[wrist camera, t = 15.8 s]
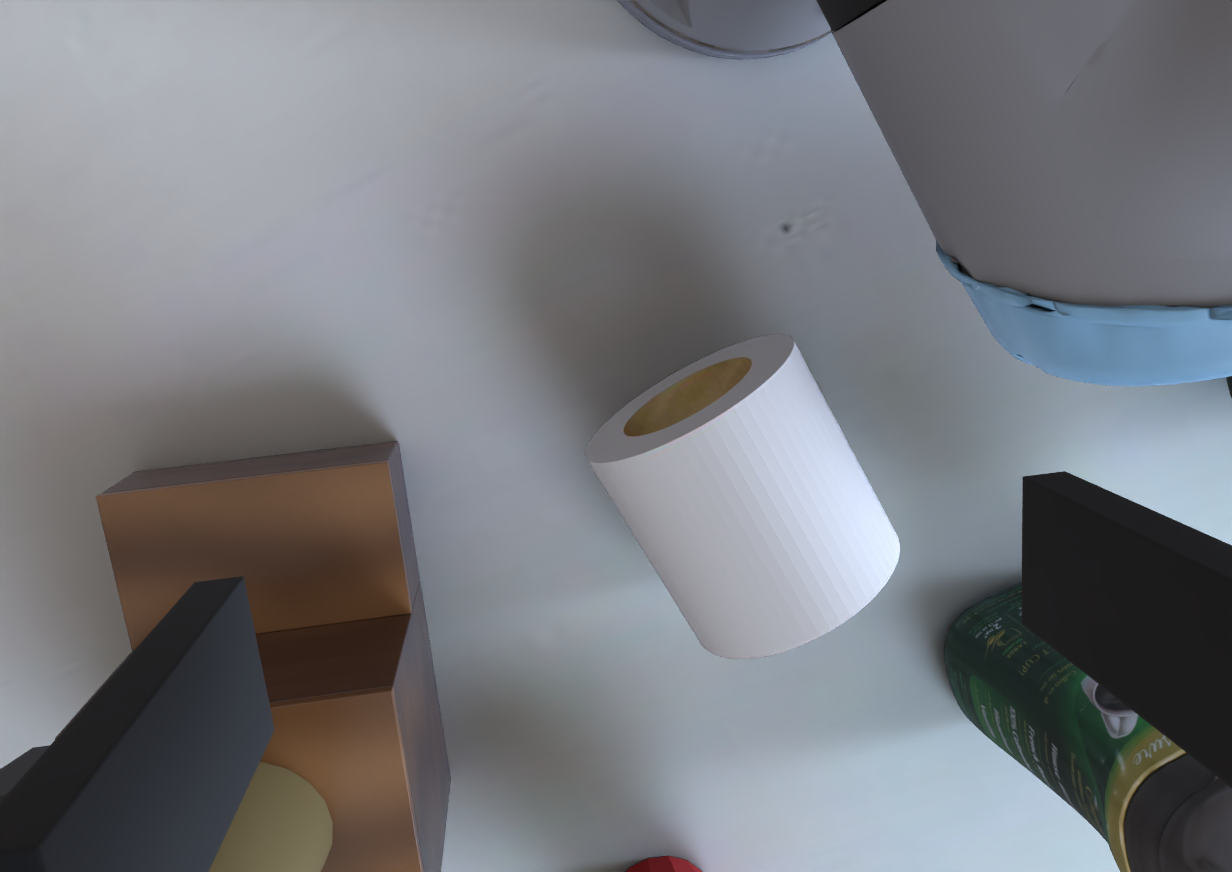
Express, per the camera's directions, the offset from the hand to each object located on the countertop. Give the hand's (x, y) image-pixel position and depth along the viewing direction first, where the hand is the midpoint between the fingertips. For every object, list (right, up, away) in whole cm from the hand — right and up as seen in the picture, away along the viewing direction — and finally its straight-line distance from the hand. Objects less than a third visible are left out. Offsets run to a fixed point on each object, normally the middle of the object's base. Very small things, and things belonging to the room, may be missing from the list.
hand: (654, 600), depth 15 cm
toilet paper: (+4, +1, +30) cm, 30 cm away
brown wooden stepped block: (-16, -7, +29) cm, 34 cm away
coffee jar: (+21, -8, +34) cm, 41 cm away
